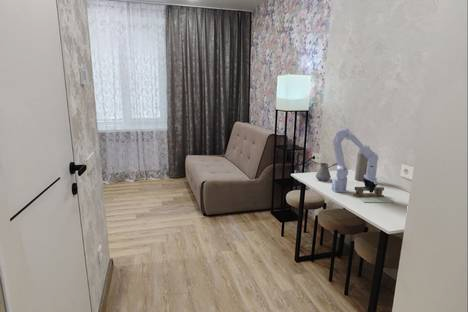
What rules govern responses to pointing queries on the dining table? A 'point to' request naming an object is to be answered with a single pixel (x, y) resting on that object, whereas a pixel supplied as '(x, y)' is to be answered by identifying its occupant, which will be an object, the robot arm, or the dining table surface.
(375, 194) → the rack
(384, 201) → the pad
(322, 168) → the coffee pot
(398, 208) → the dining table surface
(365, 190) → the rail
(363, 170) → the thermos bottle
